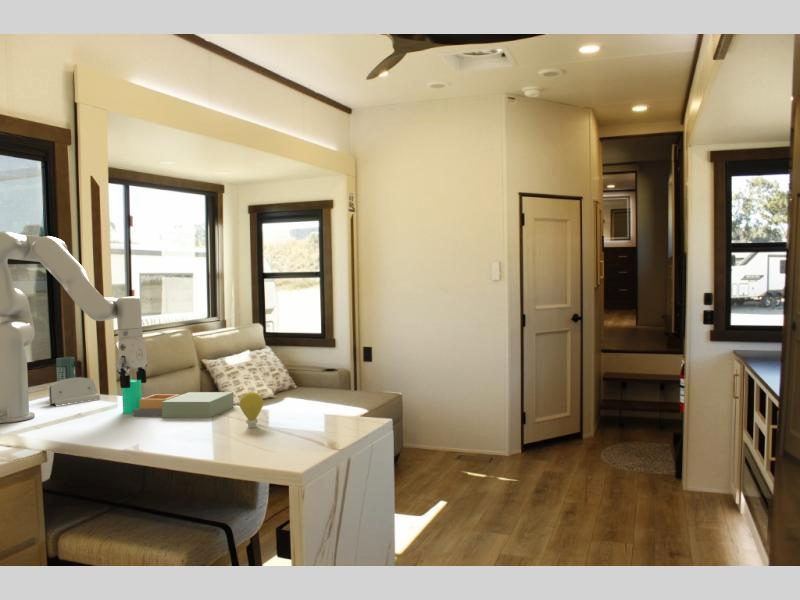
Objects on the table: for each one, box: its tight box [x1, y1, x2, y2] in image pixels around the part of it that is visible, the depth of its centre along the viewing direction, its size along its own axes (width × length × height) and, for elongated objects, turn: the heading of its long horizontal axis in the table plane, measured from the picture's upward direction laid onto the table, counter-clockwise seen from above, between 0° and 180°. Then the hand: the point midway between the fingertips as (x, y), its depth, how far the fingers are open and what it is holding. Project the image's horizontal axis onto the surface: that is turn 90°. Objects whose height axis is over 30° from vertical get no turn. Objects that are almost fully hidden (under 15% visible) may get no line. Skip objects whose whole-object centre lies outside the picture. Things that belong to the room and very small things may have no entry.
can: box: [55, 356, 76, 382], centre depth 254 cm, size 6×6×15 cm
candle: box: [121, 375, 143, 415], centre depth 218 cm, size 6×6×12 cm
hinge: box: [48, 377, 101, 406], centre depth 242 cm, size 17×5×10 cm, turn 141°
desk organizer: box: [132, 391, 234, 419], centre depth 216 cm, size 18×27×5 cm, turn 81°
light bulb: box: [239, 391, 264, 429], centre depth 190 cm, size 7×7×10 cm
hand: (133, 385), depth 218 cm, fingers open, 9 cm apart
